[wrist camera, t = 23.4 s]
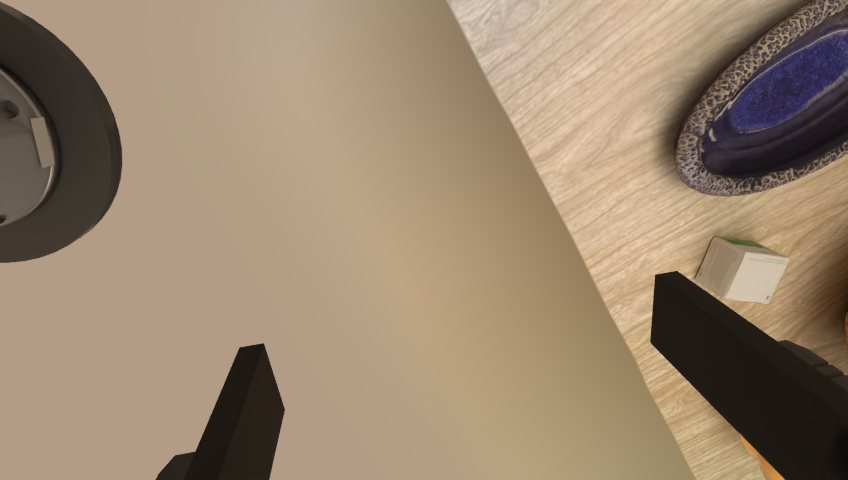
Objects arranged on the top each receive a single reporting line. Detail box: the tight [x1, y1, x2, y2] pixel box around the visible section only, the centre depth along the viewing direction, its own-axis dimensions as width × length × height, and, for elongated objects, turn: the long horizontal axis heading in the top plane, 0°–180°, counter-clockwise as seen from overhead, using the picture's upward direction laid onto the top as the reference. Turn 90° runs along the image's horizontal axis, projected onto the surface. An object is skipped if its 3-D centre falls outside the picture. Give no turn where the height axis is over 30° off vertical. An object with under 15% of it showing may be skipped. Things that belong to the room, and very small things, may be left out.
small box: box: [695, 237, 790, 304], centre depth 51 cm, size 6×6×5 cm
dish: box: [674, 0, 848, 196], centre depth 44 cm, size 16×31×5 cm, turn 121°
